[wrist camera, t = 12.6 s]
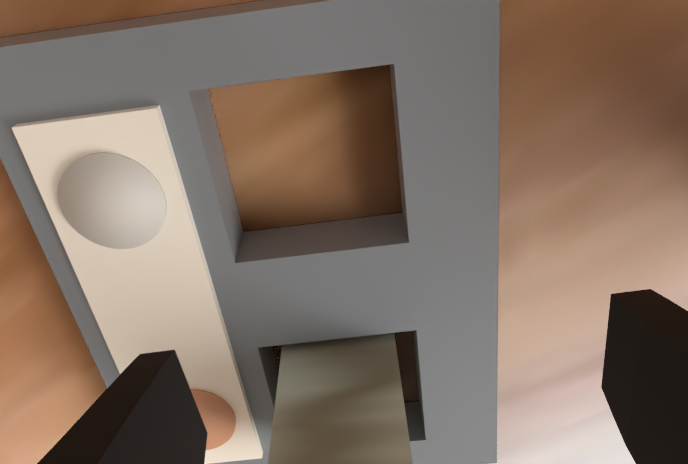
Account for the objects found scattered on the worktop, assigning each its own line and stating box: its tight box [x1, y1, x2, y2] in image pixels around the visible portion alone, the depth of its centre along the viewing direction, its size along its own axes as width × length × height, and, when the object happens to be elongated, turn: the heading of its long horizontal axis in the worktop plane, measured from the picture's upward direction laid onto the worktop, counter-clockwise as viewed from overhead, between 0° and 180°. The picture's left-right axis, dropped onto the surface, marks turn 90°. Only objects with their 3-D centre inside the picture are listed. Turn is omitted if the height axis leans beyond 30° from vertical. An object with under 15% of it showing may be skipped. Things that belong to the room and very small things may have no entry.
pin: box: [268, 333, 413, 464], centre depth 19 cm, size 4×4×8 cm
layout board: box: [0, 0, 500, 464], centre depth 19 cm, size 14×18×2 cm
